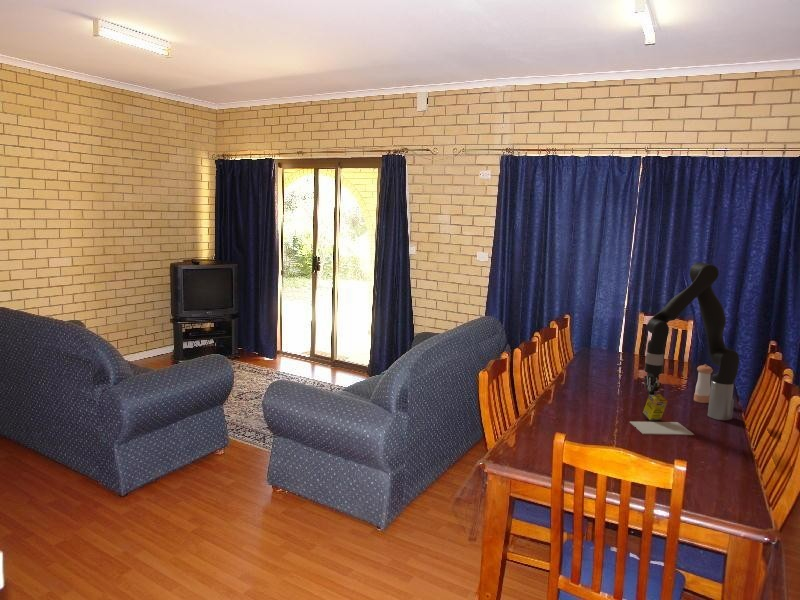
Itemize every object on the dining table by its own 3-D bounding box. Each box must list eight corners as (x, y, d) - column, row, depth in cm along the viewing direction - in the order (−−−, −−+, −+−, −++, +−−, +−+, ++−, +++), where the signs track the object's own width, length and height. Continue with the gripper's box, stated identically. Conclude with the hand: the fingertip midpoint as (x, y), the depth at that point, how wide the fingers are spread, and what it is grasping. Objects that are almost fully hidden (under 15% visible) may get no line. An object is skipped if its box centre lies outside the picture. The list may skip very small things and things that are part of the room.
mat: (677, 423, 260) (677, 422, 260) (693, 435, 246) (693, 434, 246) (629, 422, 260) (629, 421, 260) (643, 434, 246) (643, 433, 246)
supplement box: (649, 421, 261) (657, 402, 256) (641, 413, 266) (648, 394, 262) (660, 420, 263) (668, 401, 258) (652, 412, 268) (659, 393, 263)
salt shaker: (711, 403, 289) (715, 367, 286) (696, 402, 290) (699, 365, 288) (707, 399, 296) (710, 363, 293) (691, 398, 297) (695, 362, 295)
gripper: (669, 366, 256) (665, 403, 259) (655, 359, 269) (652, 394, 272) (652, 366, 256) (648, 403, 259) (640, 358, 269) (636, 394, 272)
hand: (650, 398), depth 265 cm, fingers closed
